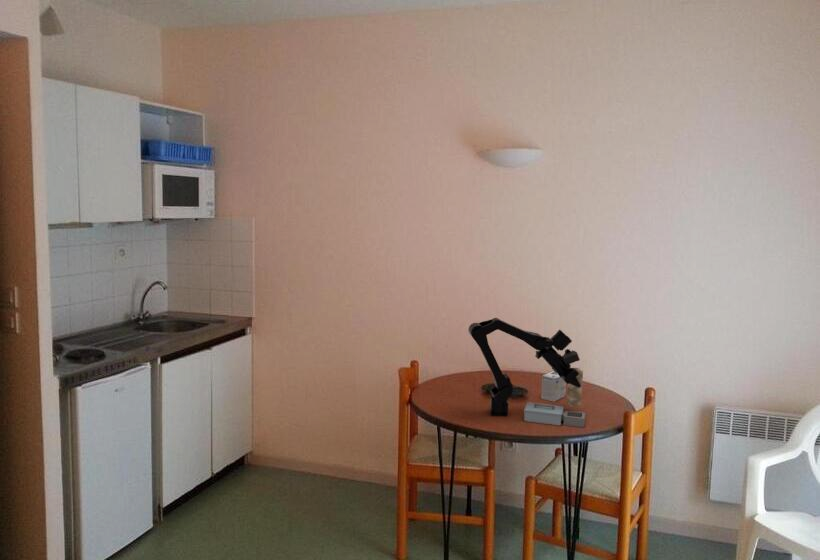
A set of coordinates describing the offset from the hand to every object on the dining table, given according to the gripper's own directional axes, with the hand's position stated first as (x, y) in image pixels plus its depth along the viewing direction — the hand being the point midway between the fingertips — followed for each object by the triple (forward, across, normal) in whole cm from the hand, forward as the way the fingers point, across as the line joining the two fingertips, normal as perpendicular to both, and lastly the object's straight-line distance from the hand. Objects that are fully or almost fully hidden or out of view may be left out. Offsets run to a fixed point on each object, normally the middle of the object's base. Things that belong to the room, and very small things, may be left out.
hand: (578, 385), depth 268 cm
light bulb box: (+6, +20, +11) cm, 24 cm away
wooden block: (+5, 0, +7) cm, 9 cm away
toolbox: (0, -9, +17) cm, 19 cm away
